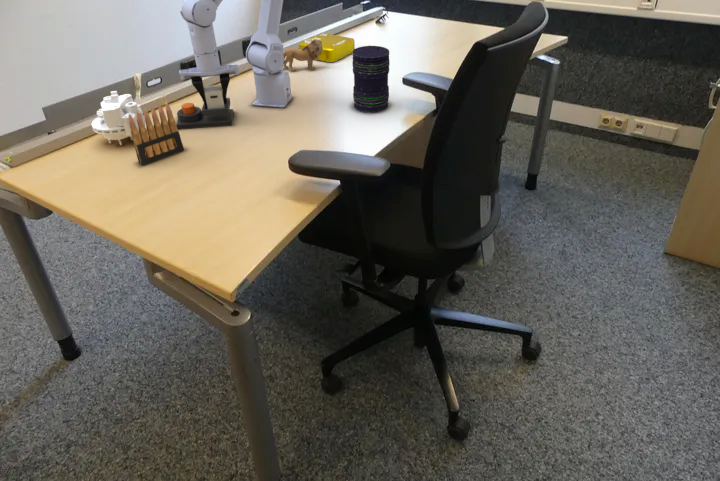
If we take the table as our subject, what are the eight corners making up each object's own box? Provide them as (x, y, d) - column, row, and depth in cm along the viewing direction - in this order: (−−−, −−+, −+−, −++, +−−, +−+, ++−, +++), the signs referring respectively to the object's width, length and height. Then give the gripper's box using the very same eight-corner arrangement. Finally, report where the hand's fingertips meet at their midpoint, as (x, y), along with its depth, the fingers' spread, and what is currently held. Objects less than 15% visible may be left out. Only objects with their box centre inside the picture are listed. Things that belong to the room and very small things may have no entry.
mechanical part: (109, 130, 133) (94, 86, 126) (154, 130, 133) (142, 85, 126) (90, 150, 124) (72, 104, 117) (138, 150, 124) (124, 104, 117)
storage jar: (372, 116, 138) (372, 60, 129) (346, 106, 143) (344, 52, 134) (396, 104, 143) (397, 50, 134) (369, 96, 149) (369, 43, 140)
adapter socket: (230, 103, 139) (229, 97, 138) (228, 114, 133) (227, 108, 132) (205, 104, 138) (204, 99, 137) (202, 116, 132) (201, 110, 131)
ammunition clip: (180, 147, 125) (168, 100, 118) (184, 150, 124) (172, 102, 117) (138, 162, 119) (123, 114, 112) (142, 165, 118) (126, 116, 111)
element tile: (332, 63, 172) (331, 48, 169) (297, 56, 178) (296, 42, 175) (356, 51, 182) (356, 37, 179) (322, 44, 188) (321, 31, 185)
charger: (224, 104, 138) (220, 84, 134) (225, 111, 134) (221, 91, 131) (208, 106, 137) (204, 86, 134) (208, 113, 133) (204, 93, 130)
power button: (196, 109, 137) (194, 102, 135) (195, 114, 134) (193, 107, 133) (184, 110, 136) (182, 103, 135) (182, 115, 134) (180, 108, 132)
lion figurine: (322, 64, 171) (320, 36, 166) (324, 69, 167) (323, 41, 162) (278, 68, 169) (275, 40, 163) (279, 73, 165) (276, 45, 159)
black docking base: (233, 112, 141) (231, 102, 139) (231, 125, 135) (229, 114, 133) (181, 116, 140) (178, 106, 138) (177, 129, 133) (174, 118, 131)
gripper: (234, 43, 131) (242, 94, 139) (175, 48, 128) (187, 100, 136) (236, 51, 125) (244, 104, 134) (174, 57, 123) (187, 111, 131)
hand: (215, 103), depth 135 cm, fingers closed on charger, 4 cm apart
